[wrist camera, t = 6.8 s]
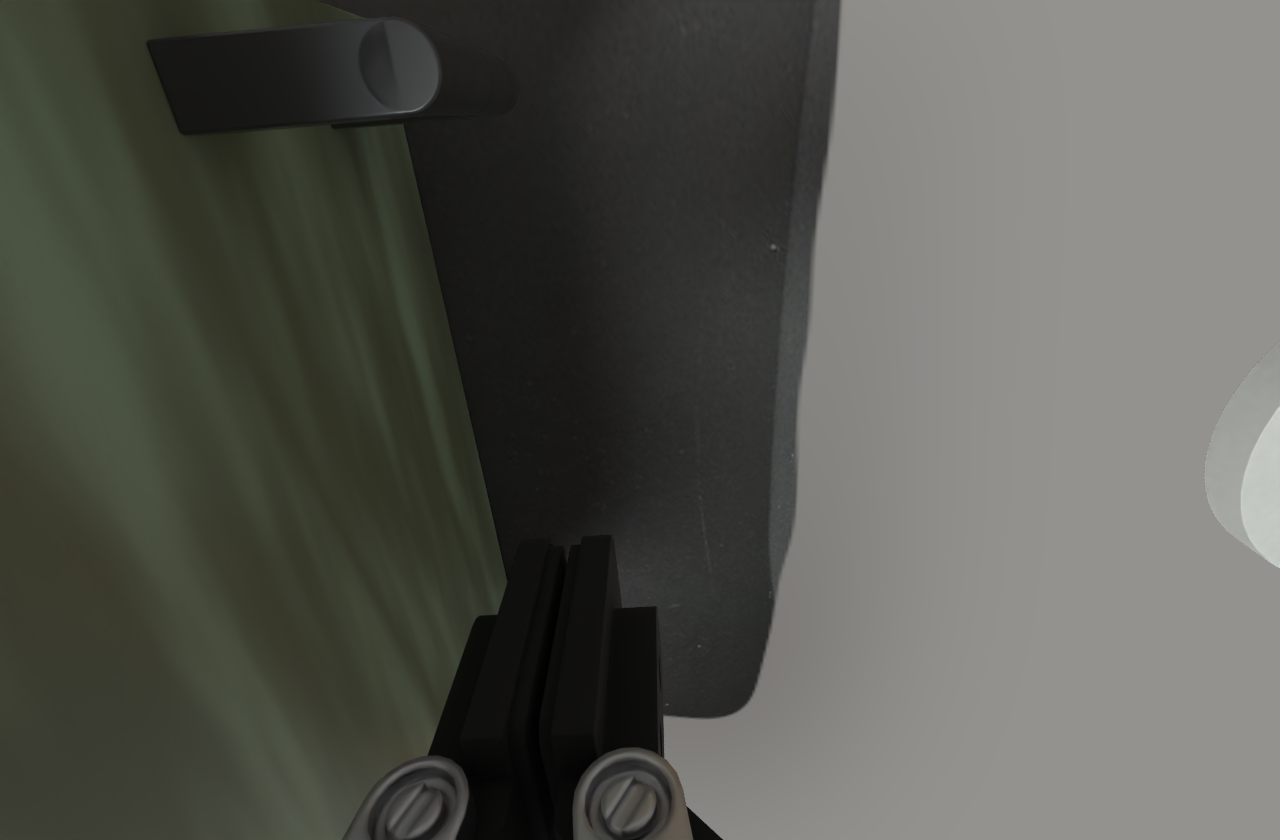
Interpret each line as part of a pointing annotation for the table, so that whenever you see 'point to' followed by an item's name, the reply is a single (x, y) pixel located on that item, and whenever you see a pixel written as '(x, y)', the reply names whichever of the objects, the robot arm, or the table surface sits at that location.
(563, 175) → the table surface
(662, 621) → the table surface
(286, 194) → the door
